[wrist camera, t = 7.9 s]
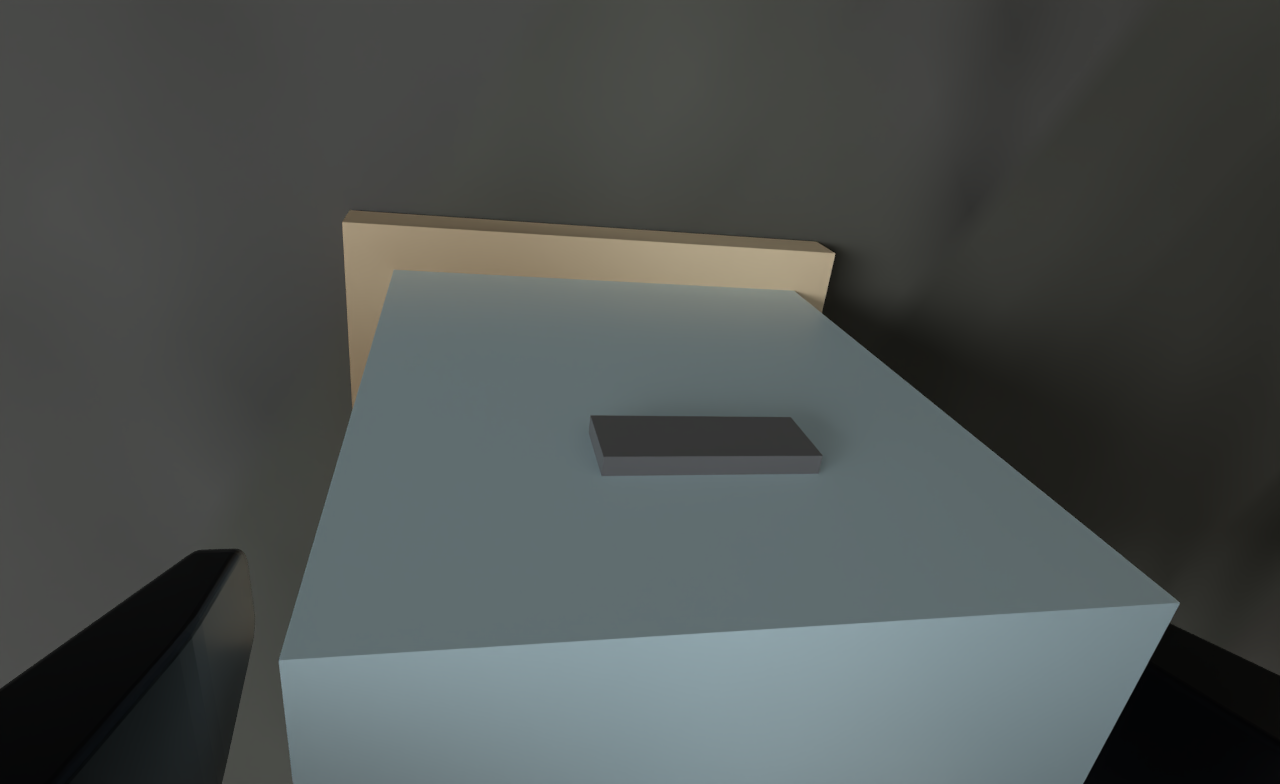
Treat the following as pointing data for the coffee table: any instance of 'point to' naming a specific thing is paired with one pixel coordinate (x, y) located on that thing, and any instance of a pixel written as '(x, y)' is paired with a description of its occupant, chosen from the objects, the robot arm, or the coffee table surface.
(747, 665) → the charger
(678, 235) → the board
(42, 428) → the coffee table surface
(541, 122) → the coffee table surface
